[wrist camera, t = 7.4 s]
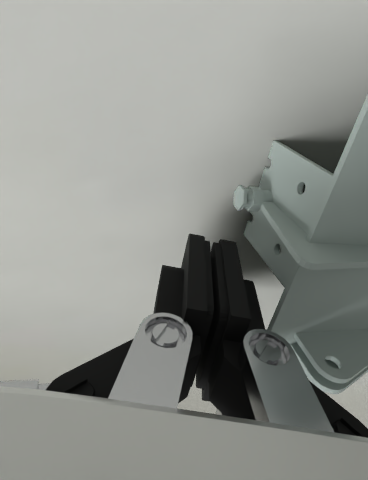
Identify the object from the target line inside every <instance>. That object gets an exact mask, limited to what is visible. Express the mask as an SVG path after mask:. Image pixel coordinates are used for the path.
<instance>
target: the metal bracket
mask: <svg viewBox="0 0 368 480" xmlns="http://www.w3.org/2000/svg"><path fill="white" fill-rule="evenodd" d="M268 158H270V159H271V166H270V168H268V167H266V166H265V169H264V172H263V175H262V178H261V181H260V185H259V187H254V186H249V187H248V188H244V187H243V186H242V185H239V186H238V187H237V189H236V190H235V192H234V200H233V205H234V206H235V208H236V209H237V210H238V211H241V210H242V209H243V208H246V210H247V211H251V213H250V214H252V215H253V221H252V222H251V221H249V220H248V222H247V225H246V229H245V232H244V236H245V237H246V238H247V239H248V241H249V242H250V243H251V245H252V246H253V247H254V249H255V250H256V251H257V252H258V254H259V255H260V256H261V258H262V259H263V260H264V261H265V263H266V264H267V265H268V267H269V268H270V269H271V270H272V272H273V273H274V274H275V276H276V277H277V278H278V280H279V281H280V282H281V283H282V285H283V286H284V287H285V289H284V291H283V294H282V296H281V298H280V301H279V303H278V305H277V308H276V310H275V312H274V315H273V317H272V320H271V322H270V324H269V327H268V329H267V330H269V331H272V332H274V333H277V334H278V335H280V336H281V337H283V338H284V339H285V340H286V341H287V342H288V343H289V344H290V345H291V347H292V348H293V350H294V352H295V354H296V356H297V358H298V360H299V362H300V364H301V366H302V368H303V370H304V372H305V374H306V376H307V377H308V379H309V380H310V381H311V382H312V383H313V384H314V385H315V386H317V387H318V388H319V389H320V390H322V391H324V392H326V393H330V394H338V393H341V392H342V391H344V390H345V389H346V388H348V387H349V386H350V385H351V384H353V383H354V382H355V381H356V380H358V379H359V378H360V377H362V376H363V375H364V374H365V373H367V372H368V94H367V97H366V99H365V101H364V104H363V106H362V108H361V111H360V113H359V115H358V118H357V120H356V122H355V125H354V127H353V129H352V132H351V134H350V136H349V139H348V141H347V144H346V146H345V148H344V151H343V153H342V155H341V158H340V160H339V162H338V165H337V167H336V169H335V172H334V174H333V173H331V172H329V171H328V170H326V169H324V168H323V167H321V166H319V165H318V164H316V163H314V162H313V161H311V160H309V159H308V158H306V157H304V156H303V155H301V154H299V153H297V152H296V151H294V150H292V149H291V148H289V147H287V146H286V145H284V144H282V143H281V142H279V141H273V144H272V147H271V150H270V153H269V156H268ZM304 184H305V191H304V193H303V191H302V188H303V185H304ZM279 247H281V252H280V253H279Z"/></svg>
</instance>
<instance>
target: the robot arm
mask: <svg viewBox="0 0 368 480" xmlns="http://www.w3.org/2000/svg"><path fill="white" fill-rule="evenodd" d="M195 375H196V387H197V388H201V389H202V400H204V401H211V403H212V404H213V405H214V406H215V407H216V408H217V410H216V414H210V413H203V412H197V411H190V410H183V409H177V406H178V403H179V402H181V401H182V400H184V399H185V398H186V397H187V396H188V393H189V390H190V387H192V385H193V381H194V378H195ZM0 480H368V429H367V428H366V427H365V426H364V425H363V424H362V423H361V422H360V421H359V420H358V419H356V418H355V417H354V416H353V415H352V414H350V413H349V412H348V411H347V410H345V409H344V408H343V407H342V406H340V405H339V404H338V403H337V402H335V401H334V400H333V399H332V398H330V397H329V396H328V395H327V394H325V393H324V392H323V391H322V390H320V389H319V388H318V387H317V386H315V385H314V384H313V383H312V382H310V381H309V380H308V378H307V376H306V374H305V372H304V370H303V368H302V366H301V364H300V362H299V360H298V358H297V356H296V354H295V352H294V350H293V348H292V347H291V345H290V344H289V343H288V342H287V341H286V340H285V339H284V338H283V337H281V336H280V335H278V334H277V333H274V332H272V331H269V330H265V327H264V323H263V318H262V314H261V310H260V306H259V302H258V298H257V294H256V290H255V286H254V283H253V281H249V280H244V279H243V275H242V270H241V265H240V260H239V255H238V250H237V245H236V242H232V241H227V240H221V239H220V241H219V243H216V242H214V243H213V245H212V249H211V253H210V241H205V237H204V236H200V235H194V234H189V236H188V240H187V244H186V249H185V253H184V258H183V262H182V267H181V268H176V267H170V266H165V265H162V269H161V274H160V280H159V285H158V290H157V296H156V302H155V307H154V313H153V314H152V315H149V316H148V317H146V318H145V319H144V320H143V321H142V322H141V324H140V326H139V328H138V331H137V333H136V335H135V337H134V339H132V340H130V341H128V342H126V343H124V344H122V345H120V346H118V347H116V348H114V349H112V350H110V351H108V352H106V353H104V354H102V355H100V356H98V357H96V358H94V359H92V360H90V361H88V362H86V363H84V364H82V365H80V366H78V367H76V368H74V369H72V370H70V371H68V372H66V373H64V374H62V375H61V376H59V377H58V378H56V379H55V380H53V381H52V383H46V384H39V379H35V380H15V381H0Z"/></svg>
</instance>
